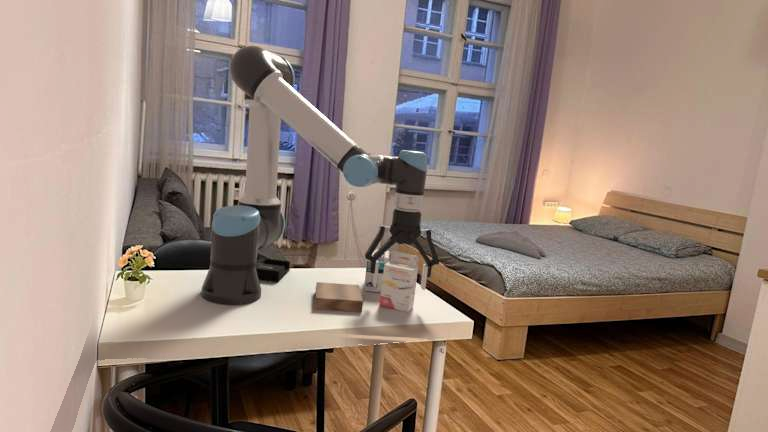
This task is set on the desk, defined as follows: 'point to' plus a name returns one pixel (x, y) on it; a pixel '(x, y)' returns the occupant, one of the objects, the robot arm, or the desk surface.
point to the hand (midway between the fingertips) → (398, 286)
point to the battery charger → (272, 269)
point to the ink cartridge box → (399, 282)
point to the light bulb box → (369, 275)
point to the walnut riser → (338, 297)
